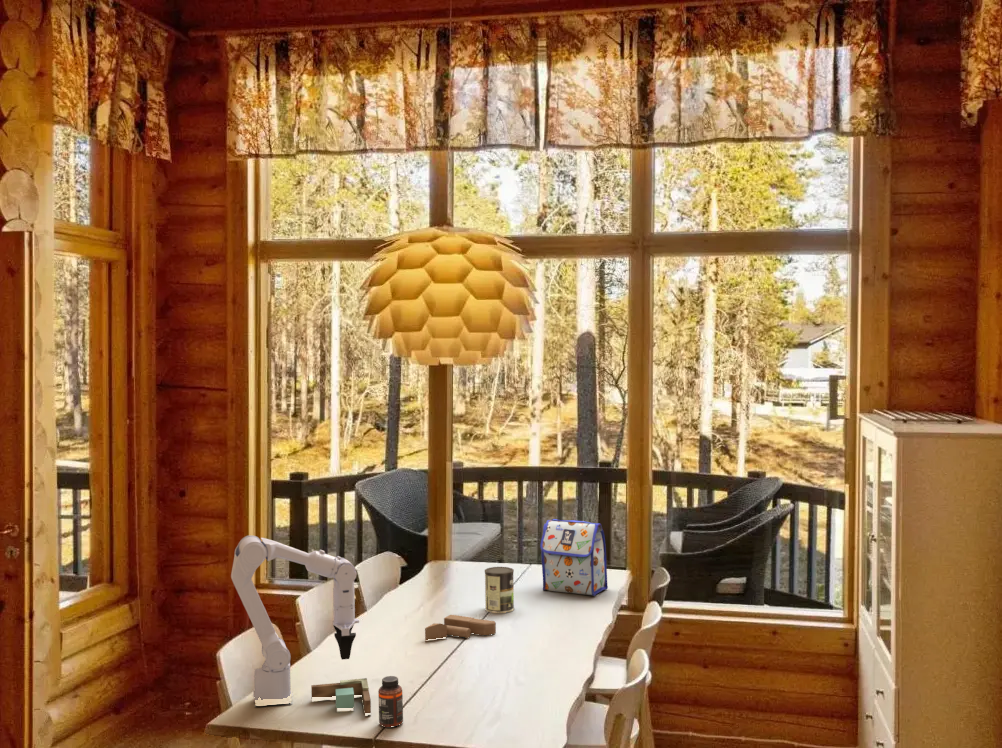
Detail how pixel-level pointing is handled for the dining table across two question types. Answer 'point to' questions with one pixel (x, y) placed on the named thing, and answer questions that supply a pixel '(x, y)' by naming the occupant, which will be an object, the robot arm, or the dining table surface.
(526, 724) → the dining table surface
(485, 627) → the wooden block set
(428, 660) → the dining table surface
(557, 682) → the dining table surface
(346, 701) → the teal cube
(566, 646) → the dining table surface
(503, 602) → the coffee can
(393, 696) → the supplement bottle
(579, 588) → the lunch bag
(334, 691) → the corner arena
